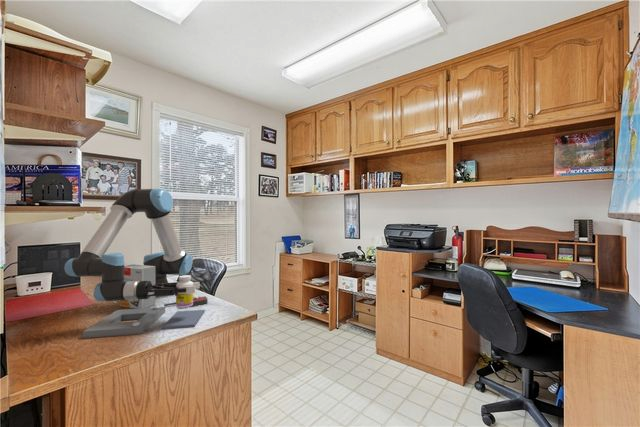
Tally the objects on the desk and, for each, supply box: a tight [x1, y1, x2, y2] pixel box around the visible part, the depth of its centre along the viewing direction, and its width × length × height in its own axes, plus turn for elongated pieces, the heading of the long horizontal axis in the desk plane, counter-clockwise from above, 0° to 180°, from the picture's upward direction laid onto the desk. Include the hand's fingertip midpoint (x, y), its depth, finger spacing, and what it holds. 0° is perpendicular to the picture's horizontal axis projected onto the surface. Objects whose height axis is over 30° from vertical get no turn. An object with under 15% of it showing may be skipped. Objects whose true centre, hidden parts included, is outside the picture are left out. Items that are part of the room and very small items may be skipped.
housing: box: [82, 305, 166, 339], centre depth 118 cm, size 24×20×4 cm
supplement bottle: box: [175, 274, 194, 309], centre depth 122 cm, size 7×7×13 cm
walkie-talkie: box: [163, 295, 209, 309], centre depth 142 cm, size 9×4×20 cm
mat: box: [161, 309, 206, 330], centre depth 122 cm, size 18×12×1 cm, turn 10°
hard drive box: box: [119, 264, 156, 309], centre depth 141 cm, size 16×8×20 cm, turn 72°
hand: (197, 287), depth 122 cm, fingers closed on supplement bottle, 7 cm apart
